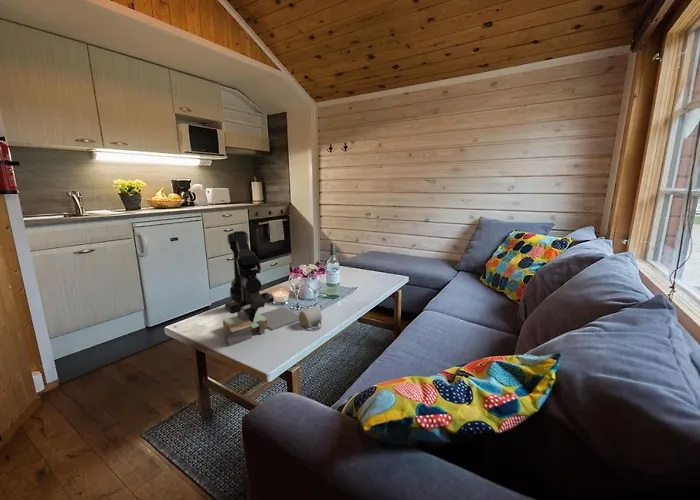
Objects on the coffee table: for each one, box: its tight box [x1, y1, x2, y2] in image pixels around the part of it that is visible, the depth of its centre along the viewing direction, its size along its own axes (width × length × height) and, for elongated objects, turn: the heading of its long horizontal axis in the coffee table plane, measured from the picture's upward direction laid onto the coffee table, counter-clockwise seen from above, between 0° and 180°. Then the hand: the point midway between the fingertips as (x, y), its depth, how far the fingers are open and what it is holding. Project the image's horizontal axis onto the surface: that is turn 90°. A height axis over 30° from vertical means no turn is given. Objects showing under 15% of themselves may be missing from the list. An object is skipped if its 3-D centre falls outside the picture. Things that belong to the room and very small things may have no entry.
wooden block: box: [229, 320, 251, 332], centre depth 127 cm, size 2×8×2 cm, turn 135°
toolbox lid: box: [222, 309, 267, 328], centre depth 135 cm, size 15×14×4 cm
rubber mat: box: [259, 306, 300, 331], centre depth 148 cm, size 18×17×1 cm
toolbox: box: [222, 320, 268, 347], centre depth 134 cm, size 15×18×5 cm
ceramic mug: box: [298, 305, 323, 331], centre depth 140 cm, size 11×8×8 cm
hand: (251, 322), depth 130 cm, fingers closed
